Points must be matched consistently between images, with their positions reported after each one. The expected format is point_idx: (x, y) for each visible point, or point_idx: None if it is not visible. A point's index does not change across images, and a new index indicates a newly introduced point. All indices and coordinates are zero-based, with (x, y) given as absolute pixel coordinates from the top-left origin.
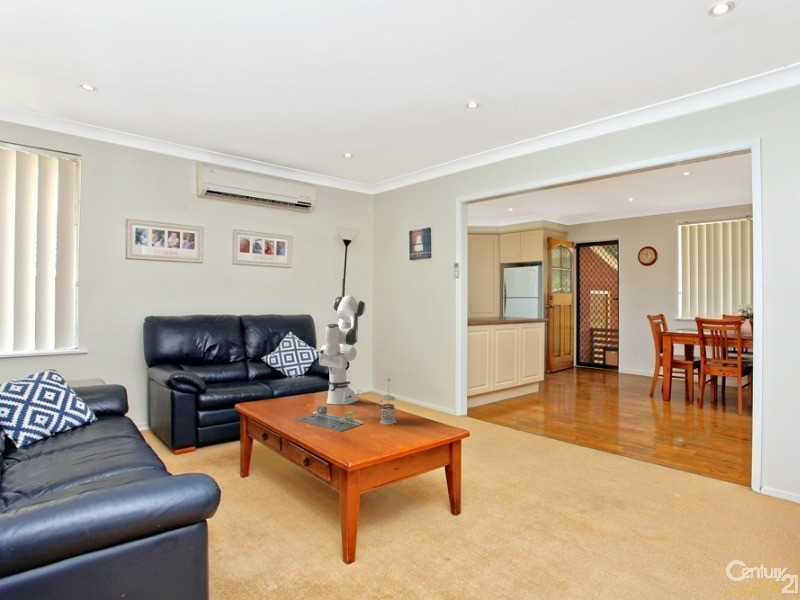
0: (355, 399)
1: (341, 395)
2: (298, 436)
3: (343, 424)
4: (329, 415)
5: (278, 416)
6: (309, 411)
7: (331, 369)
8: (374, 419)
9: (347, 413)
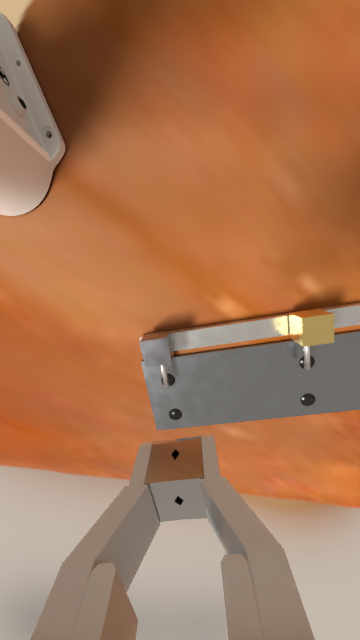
0: (8, 41)
1: (12, 145)
2: (302, 496)
3: (321, 364)
4: (209, 345)
5: (92, 440)
6: (87, 343)
7: (126, 547)
8: (351, 221)
9: (322, 343)
